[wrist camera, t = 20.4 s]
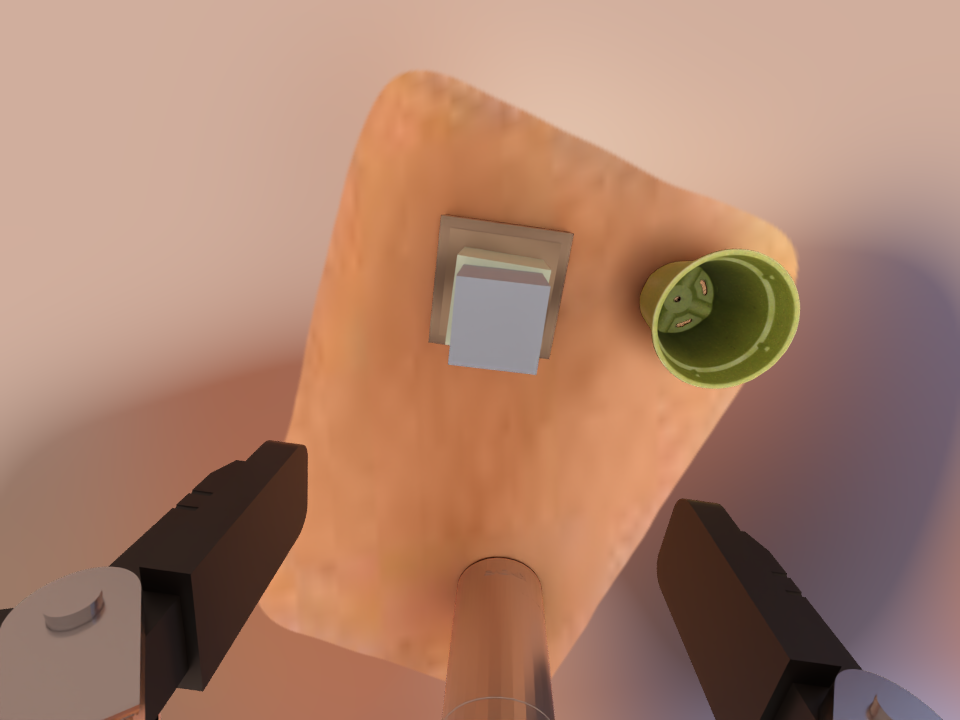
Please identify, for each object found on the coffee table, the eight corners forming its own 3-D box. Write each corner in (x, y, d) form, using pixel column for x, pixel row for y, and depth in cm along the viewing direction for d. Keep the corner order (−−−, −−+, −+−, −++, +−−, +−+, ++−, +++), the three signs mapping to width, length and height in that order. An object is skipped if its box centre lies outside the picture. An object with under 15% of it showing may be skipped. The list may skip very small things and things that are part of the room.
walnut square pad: (545, 348, 39) (549, 360, 36) (433, 332, 39) (428, 342, 36) (568, 231, 36) (574, 234, 33) (445, 214, 36) (440, 215, 33)
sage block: (527, 334, 36) (532, 359, 30) (454, 322, 36) (444, 344, 30) (542, 259, 34) (551, 270, 28) (464, 246, 34) (457, 254, 28)
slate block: (530, 348, 30) (536, 374, 25) (456, 339, 30) (448, 364, 25) (542, 273, 28) (550, 286, 23) (463, 264, 28) (456, 275, 23)
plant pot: (714, 218, 35) (780, 222, 27) (747, 323, 38) (816, 355, 29) (603, 271, 37) (632, 289, 29) (642, 367, 39) (678, 409, 31)
